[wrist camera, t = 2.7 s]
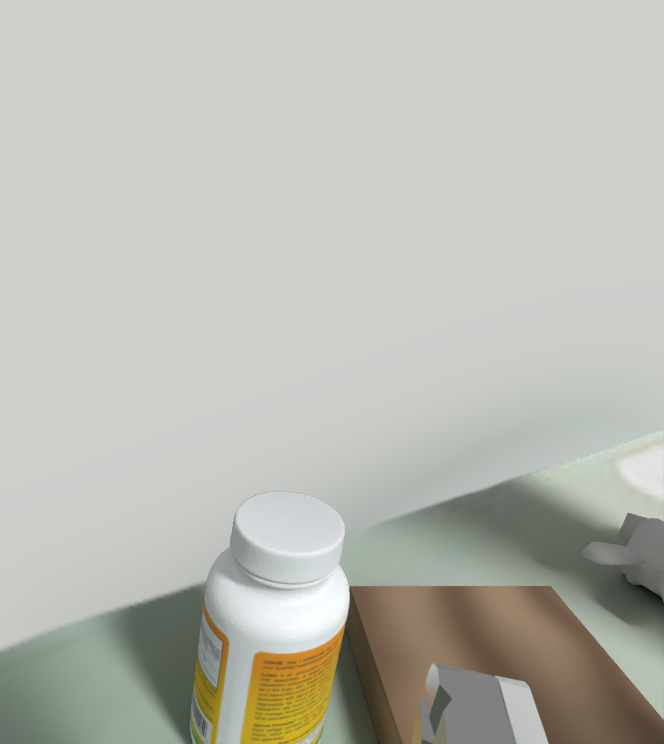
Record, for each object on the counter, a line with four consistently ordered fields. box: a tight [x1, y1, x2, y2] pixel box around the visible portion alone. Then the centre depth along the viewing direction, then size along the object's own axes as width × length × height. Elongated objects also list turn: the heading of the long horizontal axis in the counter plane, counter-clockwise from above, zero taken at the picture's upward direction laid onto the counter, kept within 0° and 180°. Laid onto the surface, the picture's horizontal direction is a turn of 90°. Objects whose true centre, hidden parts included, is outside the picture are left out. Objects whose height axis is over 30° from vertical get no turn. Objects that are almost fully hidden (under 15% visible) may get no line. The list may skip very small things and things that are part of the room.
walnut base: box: [345, 586, 664, 744], centre depth 28 cm, size 14×12×2 cm
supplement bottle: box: [190, 491, 350, 744], centre depth 23 cm, size 6×6×11 cm
